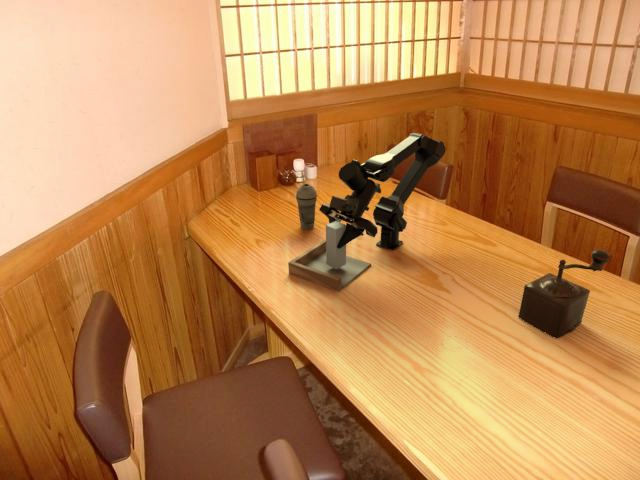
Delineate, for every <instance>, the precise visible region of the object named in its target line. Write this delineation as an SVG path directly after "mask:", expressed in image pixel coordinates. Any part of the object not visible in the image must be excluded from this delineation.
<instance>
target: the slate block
mask: <svg viewBox="0 0 640 480" xmlns="http://www.w3.org/2000/svg"><path fill="white" fill-rule="evenodd" d="M345 230H346V223H342V222H338V221H335V222H332V223H330V224H329V223H328V224H325V241H326V264H327V265H329V266H331V267H333V268H335V269H338V268H340V267H342V266H344V265H346V256H347V244H346V245H344V246H343V247H342V248H340V249H338V248H337V245H338V243H339V241H340V239H341V238H342V236H343V234H344V232H345Z"/></svg>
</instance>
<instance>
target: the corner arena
mask: <svg viewBox="0 0 640 480" xmlns="http://www.w3.org/2000/svg"><path fill="white" fill-rule="evenodd" d="M287 264H288V274H290V275H292V276H295V277H298V278H300V279H302V280H305V281H309V282H310V283H314V284H317V285H319V286H322V287H324V288H328V289H329V290H333V291H336V292H339V293H340V291H341V290H343V289H344V288H345V287H346V286H347V285H349V284H350V283H351V282H352V281H354V280H355V279H356V278H358V277H359V276H360V275H361V274H363V272H365V271H366V270H367V269H369V268H370V267H371V266H372V263H370V262H367V261H364V260H362V259H358V258H354V257H352V256H348V255H346V265H344V266H342V267H340V268H338V269H335V268H333V267H331V266H329V265H327V264H326V239H325V240H324V239H323V240H321V241H320V242H318V243H316V244H315V245H313V246H312V247H310V248H308V249H307V250H305V251H304V252H302V253H300V255H298V256H296V257H295V258H293V259H291V260H290V261H288V262H287Z"/></svg>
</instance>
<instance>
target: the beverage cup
mask: <svg viewBox="0 0 640 480" xmlns="http://www.w3.org/2000/svg"><path fill="white" fill-rule="evenodd" d="M301 178H302V184H301V185H300V186H299V187H298V188H297V190H296V194H295V199H296V202H297V208H298V218H299V223H300V228H301V229H302V230H303V231H304V230H307V231H310V230H313V229H314V228H315V219H316V218H315V216H316V204H317V197H318V193H317V190H316V189H315V187H314V186H313V185H311V184H309V183H305V176H304V171H301Z"/></svg>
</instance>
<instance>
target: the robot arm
mask: <svg viewBox="0 0 640 480" xmlns="http://www.w3.org/2000/svg"><path fill="white" fill-rule="evenodd" d="M446 151H447V150H446V145H445V143H444V141H442V140H437V139H432V138H430V137H428V136H427V135H425V134H422V133H418V132H411V133H410V134H408V136H407V137H406V138H405V139H404V140H402V141H401V142H399V143H398V144H397V145H395V146H394V147H392V148H391V149H390V150H389V151H386V152H385V153H382V154H377V155H374V156H372V157H370V158H368V159H367V160H366V161H365V162H363V163H362V164H361V163H360V161H359V160H356V159H352V160H351V161H350V162H348V163H345V164H344V165H343V166H342V167H340V169H339V171H338V178H339V179H340V181H342V183H343V184H344V185H346V187H347V188H348V189H350V190H351V191H352V192H351V194H347V195H345V197H340V196H336V195H332V196H331V199H330V202H329V203H325V202H324V203H323V204H321V206H320V207H319V209H318V210H319V212H321V214H323V215H324V216H325V217H327V219H328V222H329V223H328V224H330V223H332V222H335V221H338V222H340V223H342V221H343V222H345V225H346V230H345V232H344V234H343V236H342V238H341V239H340V241H339V243H338V245H337V248H338V249H340V248H342V247H343V246H344V245H346V246H347V245H348V244H349V243H351V242H352V241H354V240H355V239H357V238H359V237H360V236H362V237H363V236H364V235H365V234H366V235H367V236H370V237H372V238H376V235H377V234H378V230H379V229H378V227H377V226H379V227H381V228H380V240H379V241H378V242H376V243H375V245H376V246H377V247H382V248H385V249H387V250H391V251H395V250H396V249H398V247H400V246H401V245H402V244H403V243H404V241H403V240H400V233H402V232H404V230H405V229H406V228H407V224H408V222H407V220H405V219H404V217H403V216H404V215H405V214H404V213H405V209H404V208H405V203H407V201H408V199H409V197H410V196H411V194H412V193H413V192H414V190H415V189H416V187H417V186H418V184H419V182H420V181H421V179H423V176H424V175H425V173H426V172H427V170H429V168H431V167H432V166H434V165H436V164H437V163H439V162H440V160H441V159H442V158H443V157H444V155H445V153H446ZM413 154H414V160H413V162H412V163H411V164H410V166H409V167H408V169H407V170H406V171H405V174H404V175H403V177H402V178H401V179H400V181H399V182H398V183H397V185H396V186H395V188H394V190H393V192H391V195H389V196H387V197H386V196H381V197H380V199H379V200H378V202H377V203H376V205H374V209H373V211H372V217H373V220H374V223H373V222H372V221H371V220H369V219H366V218H364V217H363V215H364V213H365V211H366V212H369V210H370V207H369V205H370V203H371V201H372V199H373V198H374V196H375V194H381V193H382V189H381V183H385V182H387V181H388V180H389V179H390V178H391V177H392V176H393V174H394V173H395V171H396V167H398V166H399V165H400V164H401V163H403V162H404V161H405V160H407V159H408V158H410V157H411V156H412V155H413ZM394 175H395V174H394ZM375 181H377V182H381V183H377V182H375ZM364 232H365V234H364Z"/></svg>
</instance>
